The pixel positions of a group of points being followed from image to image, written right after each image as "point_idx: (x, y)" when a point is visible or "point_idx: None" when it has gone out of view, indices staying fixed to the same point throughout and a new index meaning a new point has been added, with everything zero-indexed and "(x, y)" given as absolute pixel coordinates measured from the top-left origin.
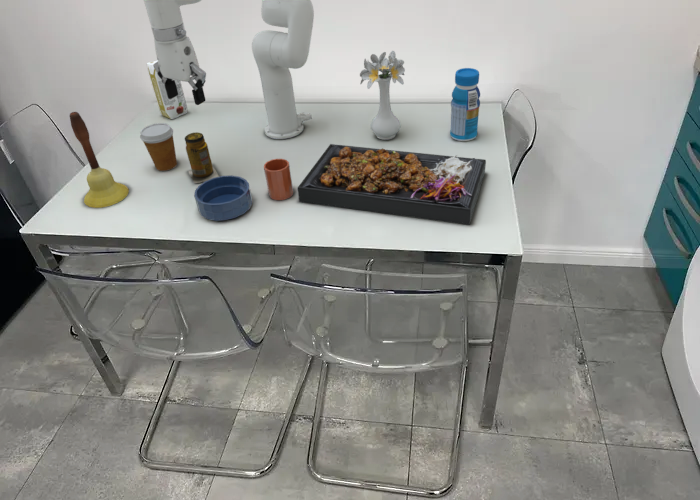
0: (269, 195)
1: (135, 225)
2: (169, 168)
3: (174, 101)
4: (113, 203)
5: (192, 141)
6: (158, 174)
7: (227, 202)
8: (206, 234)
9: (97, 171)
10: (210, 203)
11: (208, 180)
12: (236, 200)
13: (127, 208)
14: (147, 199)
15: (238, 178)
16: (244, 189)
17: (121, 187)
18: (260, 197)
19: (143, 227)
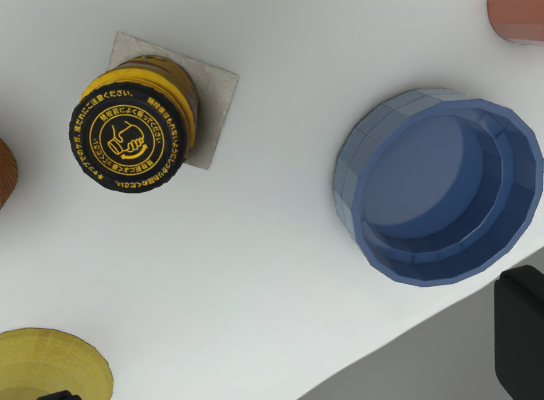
0: (508, 39)
1: (268, 379)
2: (15, 177)
3: None
4: (110, 387)
5: (172, 175)
6: (21, 220)
7: (522, 231)
8: (462, 280)
9: None
10: (476, 269)
11: (357, 199)
12: (535, 202)
13: (167, 367)
14: (166, 313)
15: (442, 109)
16: (461, 110)
17: (54, 360)
18: (476, 63)
19: (294, 369)
